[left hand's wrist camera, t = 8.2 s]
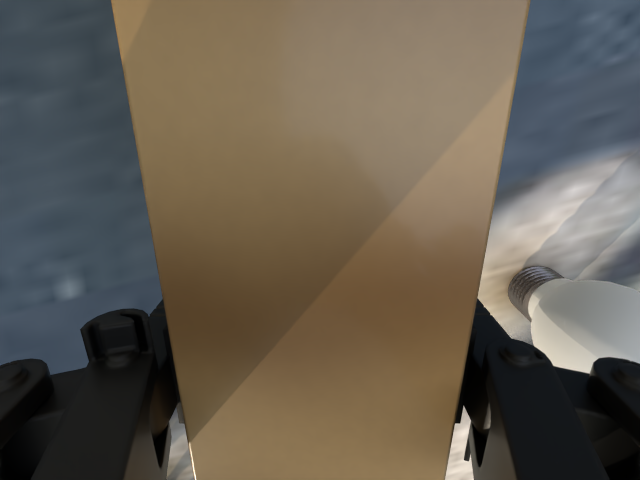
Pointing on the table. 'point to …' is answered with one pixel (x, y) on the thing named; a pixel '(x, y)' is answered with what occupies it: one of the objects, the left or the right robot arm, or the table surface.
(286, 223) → the bar
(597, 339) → the light bulb
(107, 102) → the table surface
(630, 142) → the table surface
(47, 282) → the table surface
